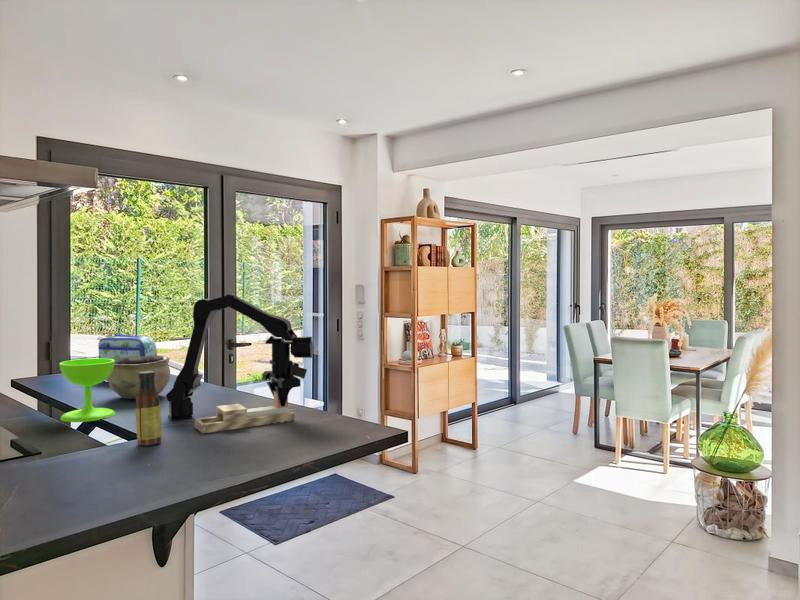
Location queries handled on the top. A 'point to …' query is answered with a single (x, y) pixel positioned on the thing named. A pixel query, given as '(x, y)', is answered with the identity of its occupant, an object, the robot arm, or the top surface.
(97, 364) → the wineglass
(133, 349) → the lunch box
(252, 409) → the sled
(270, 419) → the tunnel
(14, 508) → the top surface
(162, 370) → the ceramic bowl
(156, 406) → the sauce bottle
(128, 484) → the top surface
